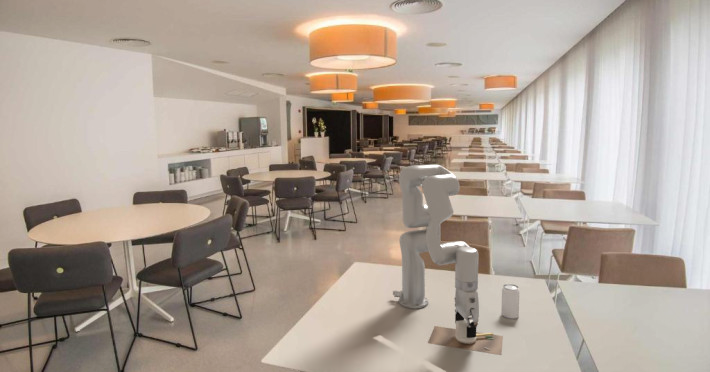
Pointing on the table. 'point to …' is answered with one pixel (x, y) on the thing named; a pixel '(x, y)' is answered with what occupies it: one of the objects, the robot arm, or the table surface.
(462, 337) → the knob
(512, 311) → the can
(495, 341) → the dial board
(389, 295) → the table surface
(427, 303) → the robot arm
